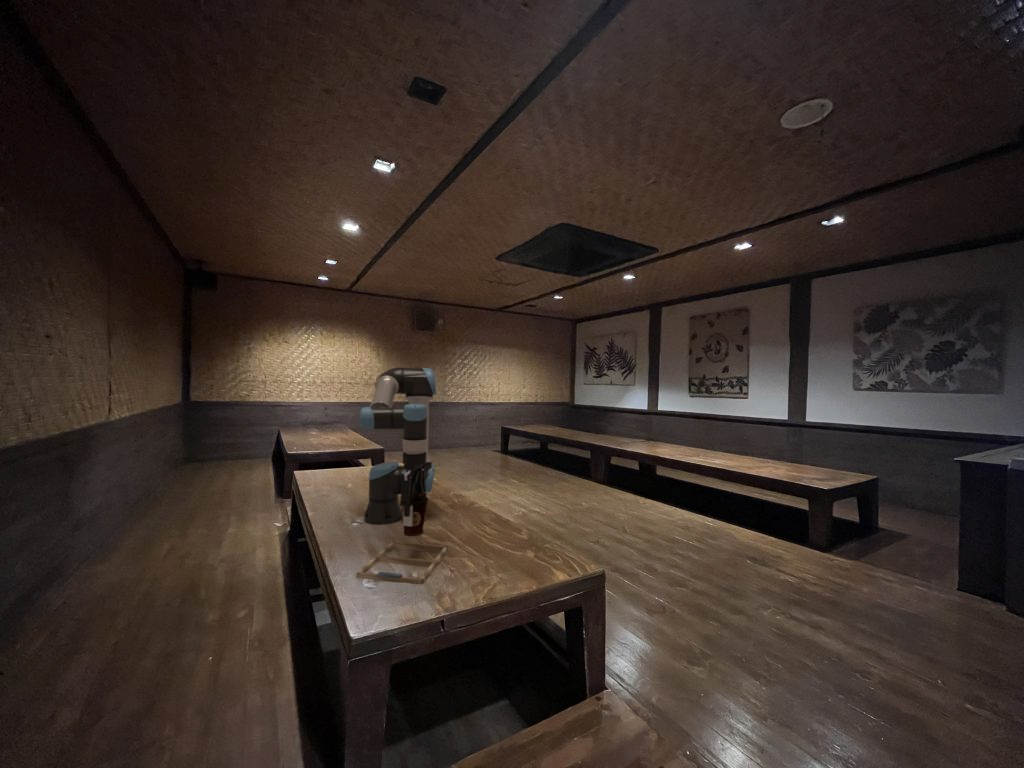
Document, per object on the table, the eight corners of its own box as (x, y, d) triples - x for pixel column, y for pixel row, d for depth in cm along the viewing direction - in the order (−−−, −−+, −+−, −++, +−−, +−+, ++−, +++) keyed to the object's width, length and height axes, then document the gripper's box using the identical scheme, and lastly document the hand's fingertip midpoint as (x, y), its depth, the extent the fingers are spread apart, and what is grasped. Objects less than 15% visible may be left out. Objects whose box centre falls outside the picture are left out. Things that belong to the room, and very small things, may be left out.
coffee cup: (419, 540, 124) (421, 499, 124) (395, 537, 126) (396, 497, 125) (431, 530, 132) (432, 491, 132) (408, 527, 134) (409, 489, 134)
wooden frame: (392, 547, 136) (392, 539, 136) (447, 552, 133) (448, 544, 133) (355, 580, 113) (355, 571, 113) (421, 587, 110) (422, 578, 110)
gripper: (416, 445, 139) (415, 508, 140) (389, 457, 119) (387, 532, 120) (436, 446, 138) (435, 510, 139) (412, 459, 118) (411, 534, 118)
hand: (413, 520), depth 129 cm, fingers closed on coffee cup, 8 cm apart
